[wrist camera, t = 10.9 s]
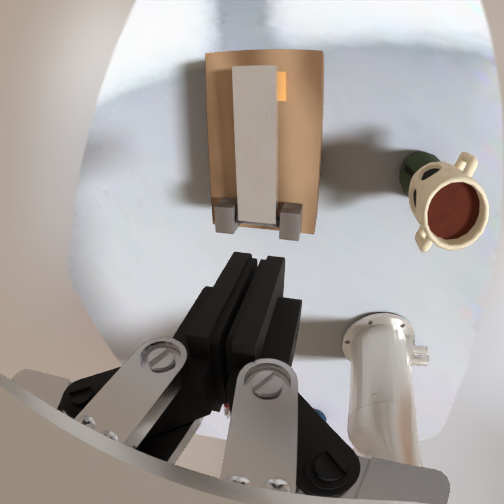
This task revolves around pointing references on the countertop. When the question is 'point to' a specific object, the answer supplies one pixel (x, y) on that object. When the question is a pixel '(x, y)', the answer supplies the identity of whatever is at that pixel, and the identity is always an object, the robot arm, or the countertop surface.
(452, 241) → the character mug
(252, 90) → the latch lever
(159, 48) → the countertop surface
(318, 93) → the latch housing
